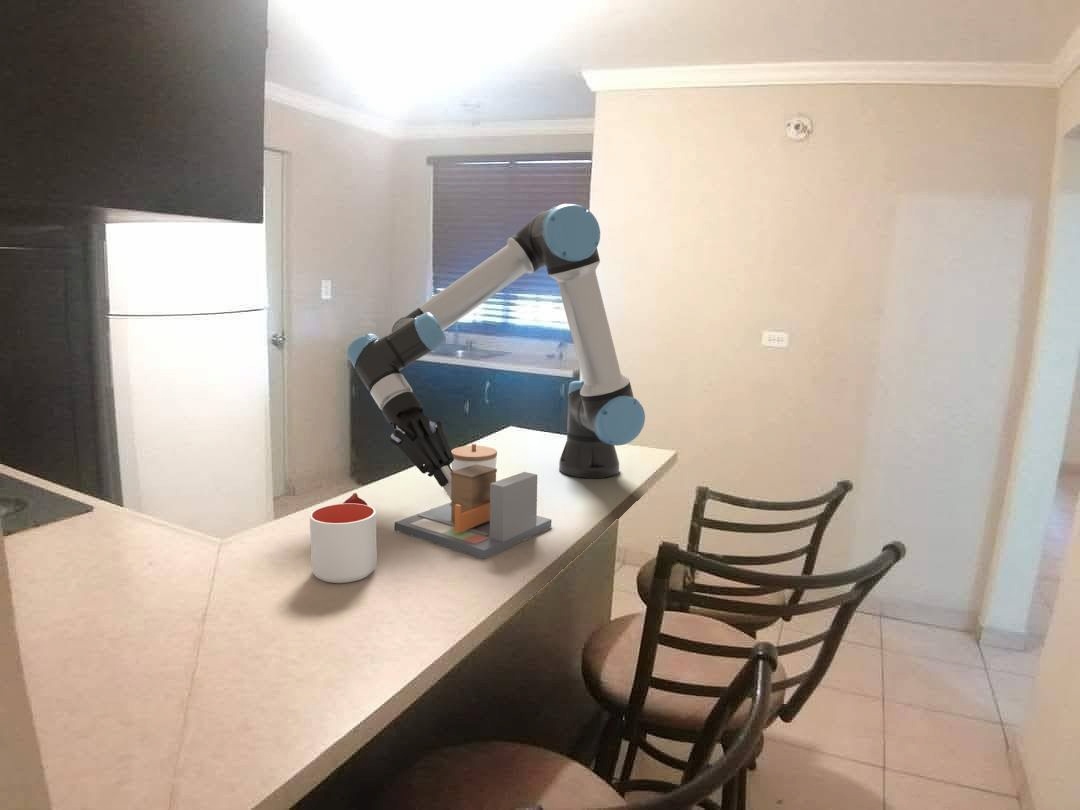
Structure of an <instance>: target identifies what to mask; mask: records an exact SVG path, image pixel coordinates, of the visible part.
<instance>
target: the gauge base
mask: <svg viewBox="0 0 1080 810" xmlns="http://www.w3.org/2000/svg"><path fill="white" fill-rule="evenodd" d="M537 508H538V474H537V473H532V472H527V471H524V472H520V473H517V474H514V475H511V476H508V477H506V478H503V479H500V480H496V482H493V483H491V484H490V520H489V521H487V522H485V523H482V524H480V525H477V526H475V527H472V528H470V529H468V530H465V531H463V532H460V533H457V532H455V522H452V521H451V502H448V503H445V504H443V505H439V506H436V507H434V508H431V509H427V510H425V511H422V512H420V513H416V514H414V515H411V516H409V517H406V518H403V519H399V520H397V521H395V522H394V524H393V525H394V527H393V528H394V531H395V532H399V533H402V534H405V535H408V536H409V537H414V538H417V539H420V540H423V541H427V542H430V543H433V544H434V545H435V544H437V545H439V546H442V547H445V548H449V549H452V550H453V551H454V550H455V551H457V552H461V553H464V554H467V555H470V556H473V557H476V558H479V559H483V560H486V559H488V558H490V557H492V556H495V555H497V554H498V553H500V552H501V553H502V551H505V550H507V549H509V548H511V547H513V546H515V545H517V544H520V543H521V541H522V542H524V541H526V540H527V538H528V539H529V537H530V538H531V537H534V536H536V535H538V534H540V533H542V532H544V530H545V531H547V530H549V529H551V528H552V518H548V517H543V516H539V515H537V513H538V511H537ZM550 527H551V528H550ZM546 529H547V530H546ZM533 535H534V536H533ZM525 539H526V540H525ZM523 540H524V541H523Z"/></svg>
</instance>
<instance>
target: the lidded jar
mask: <svg viewBox="0 0 1080 810" xmlns="http://www.w3.org/2000/svg"><path fill="white" fill-rule="evenodd" d="M450 450H451V452H452V454H453V457H454V461H453V462H452V463H451V464H450V465H451V469H452V471H455V470H458V469H462V468H465V467H468V466H472V465H475V464H477V465H482V466H486V467H491V468H496V467H497V456H498V451H497V449H495V448H493V447H490V446H483V445H477V444H476V443H471V445H464V446H459V447H455V448H453V449H450ZM496 469H497V468H496Z"/></svg>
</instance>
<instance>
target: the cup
mask: <svg viewBox="0 0 1080 810" xmlns="http://www.w3.org/2000/svg"><path fill="white" fill-rule="evenodd" d="M367 505H368V504H367ZM367 505H363V504H353V503H345V504H343V503H336V504H329V505H325V506H321V507H319V508H317V509H315V510H313V511H312V512H311V513H310V514H309V528H310V529H309V530H310V531H309V532H310V556H311V558H310V559H311V561H310V562H311V570H312V573H313V575H314V576H315V577H316V578H317V579H318V580H321V581H323V582H326V583H330V584H331V583H333V584H343V583H344V584H346V583H351V582H357V581H360V580H362V579H365V578H367V577H368V576H370V575H371V574H372V573H373V572H374V571H375V568H376V567H377V564H378V563H377V562H378V560H377V559H378V558H377V554H378V553H377V516H376V515H377V513H376V512H377V511H376V509H374V507H371V506H370V505H368V506H367Z"/></svg>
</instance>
